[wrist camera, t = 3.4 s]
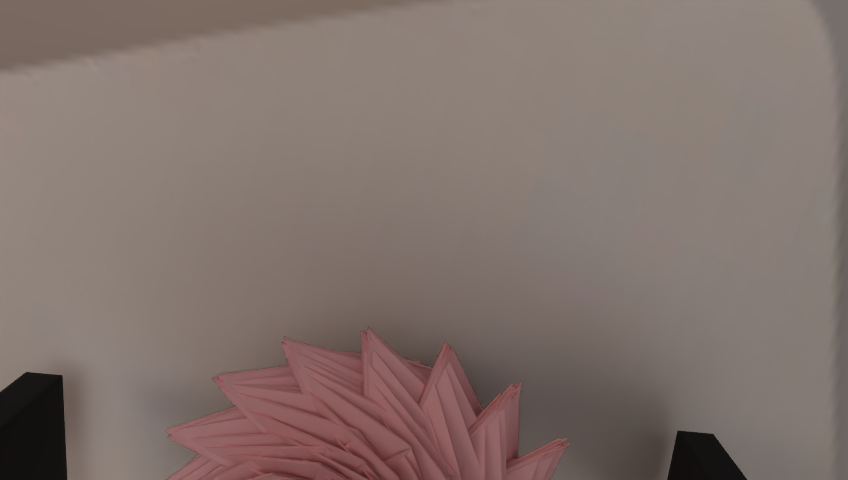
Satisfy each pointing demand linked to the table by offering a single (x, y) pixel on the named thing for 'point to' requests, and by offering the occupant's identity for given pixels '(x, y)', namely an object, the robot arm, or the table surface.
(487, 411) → the flower
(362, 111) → the table surface
